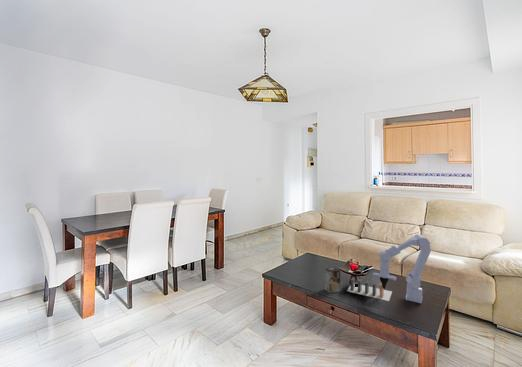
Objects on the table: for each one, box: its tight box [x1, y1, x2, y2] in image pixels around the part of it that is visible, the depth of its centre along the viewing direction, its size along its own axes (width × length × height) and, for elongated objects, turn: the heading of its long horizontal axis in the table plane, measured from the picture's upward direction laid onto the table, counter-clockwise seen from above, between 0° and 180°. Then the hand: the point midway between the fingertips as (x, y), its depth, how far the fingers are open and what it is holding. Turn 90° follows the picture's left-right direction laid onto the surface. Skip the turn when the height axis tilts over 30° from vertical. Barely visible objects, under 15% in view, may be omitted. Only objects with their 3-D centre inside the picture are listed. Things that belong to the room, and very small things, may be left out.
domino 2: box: [357, 278, 363, 292], centre depth 197 cm, size 2×5×8 cm, turn 147°
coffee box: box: [324, 266, 341, 294], centre depth 198 cm, size 9×6×16 cm
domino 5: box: [378, 282, 385, 298], centre depth 189 cm, size 2×5×8 cm, turn 146°
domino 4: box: [372, 281, 378, 296], centre depth 192 cm, size 2×5×8 cm, turn 147°
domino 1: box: [350, 276, 356, 291], centre depth 200 cm, size 2×5×8 cm, turn 147°
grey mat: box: [346, 284, 393, 302], centre depth 197 cm, size 28×16×1 cm, turn 57°
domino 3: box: [364, 279, 370, 294], centre depth 194 cm, size 2×5×8 cm, turn 148°
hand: (384, 288), depth 188 cm, fingers closed
